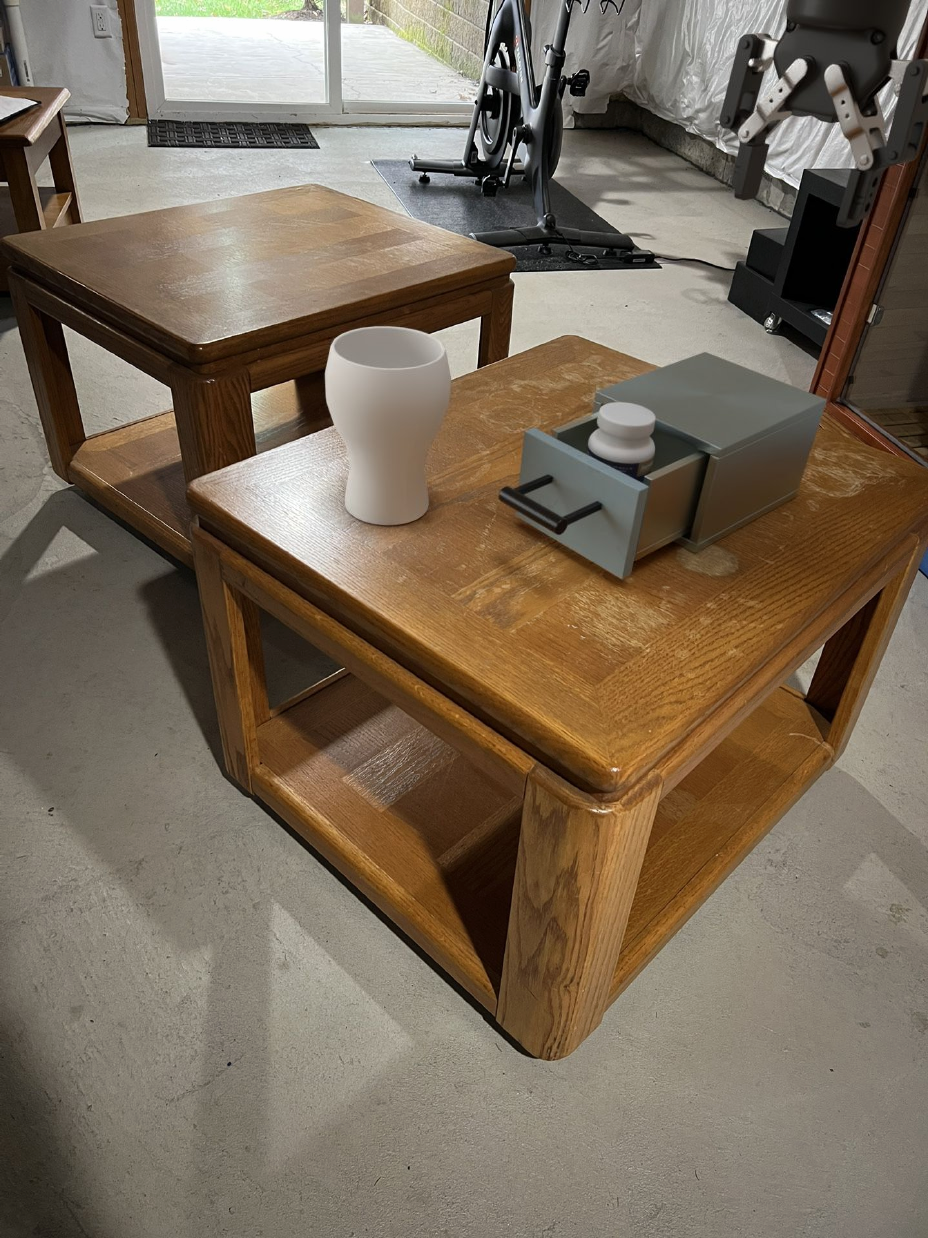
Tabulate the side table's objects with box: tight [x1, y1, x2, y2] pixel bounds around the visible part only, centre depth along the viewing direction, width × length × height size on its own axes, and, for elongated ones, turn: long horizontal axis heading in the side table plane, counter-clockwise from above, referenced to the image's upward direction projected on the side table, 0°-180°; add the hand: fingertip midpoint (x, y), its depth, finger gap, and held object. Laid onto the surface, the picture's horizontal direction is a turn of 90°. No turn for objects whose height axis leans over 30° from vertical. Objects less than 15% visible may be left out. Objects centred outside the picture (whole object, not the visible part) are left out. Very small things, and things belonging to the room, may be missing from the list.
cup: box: [324, 325, 452, 526], centre depth 82 cm, size 11×11×15 cm
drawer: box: [498, 412, 711, 580], centre depth 81 cm, size 21×13×8 cm, turn 132°
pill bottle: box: [586, 402, 656, 483], centre depth 80 cm, size 6×6×10 cm
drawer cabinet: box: [591, 351, 828, 554], centre depth 88 cm, size 17×14×10 cm
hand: (794, 211), depth 68 cm, fingers open, 8 cm apart
